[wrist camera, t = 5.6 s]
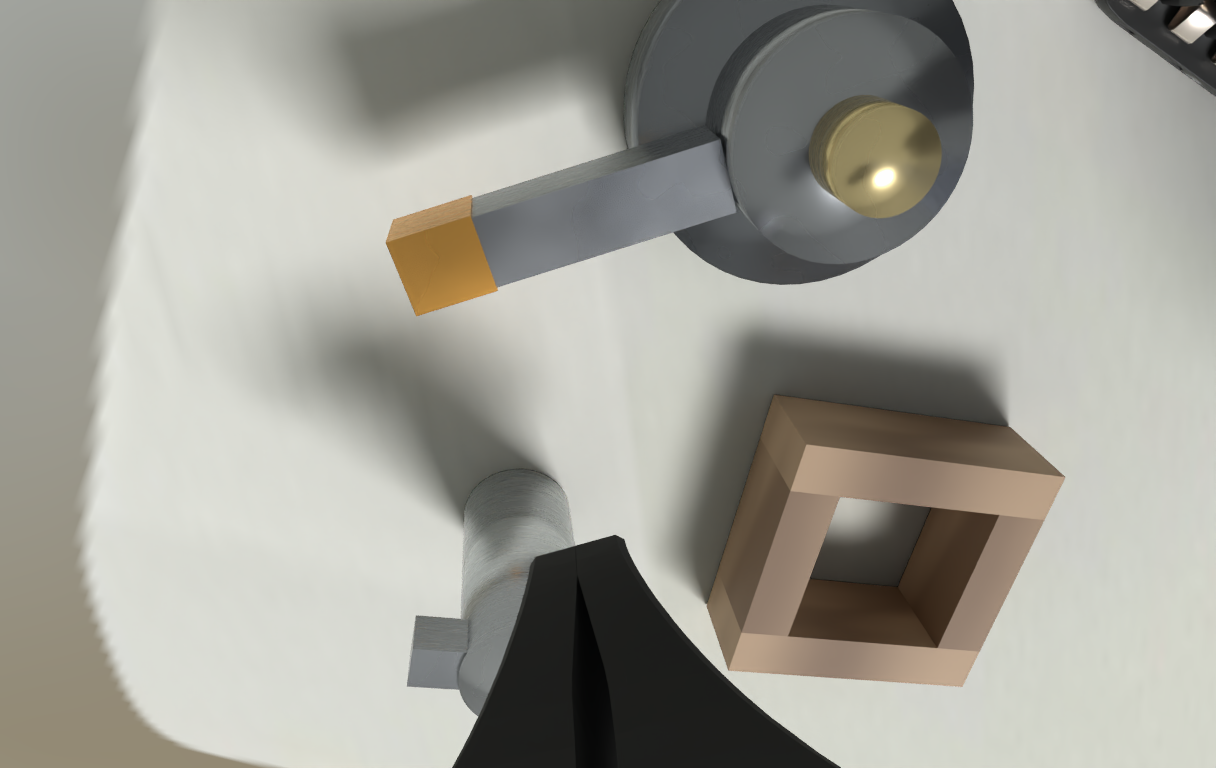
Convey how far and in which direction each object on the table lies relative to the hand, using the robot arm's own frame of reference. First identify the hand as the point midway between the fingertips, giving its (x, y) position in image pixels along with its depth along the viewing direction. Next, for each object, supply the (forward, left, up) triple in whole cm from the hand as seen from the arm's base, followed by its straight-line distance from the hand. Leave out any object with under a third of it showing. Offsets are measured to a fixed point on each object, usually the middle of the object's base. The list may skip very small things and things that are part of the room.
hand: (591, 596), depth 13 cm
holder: (-10, +4, -9) cm, 14 cm away
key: (0, +5, -9) cm, 11 cm away
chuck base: (-4, -7, -9) cm, 12 cm away
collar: (-1, -5, -7) cm, 9 cm away
